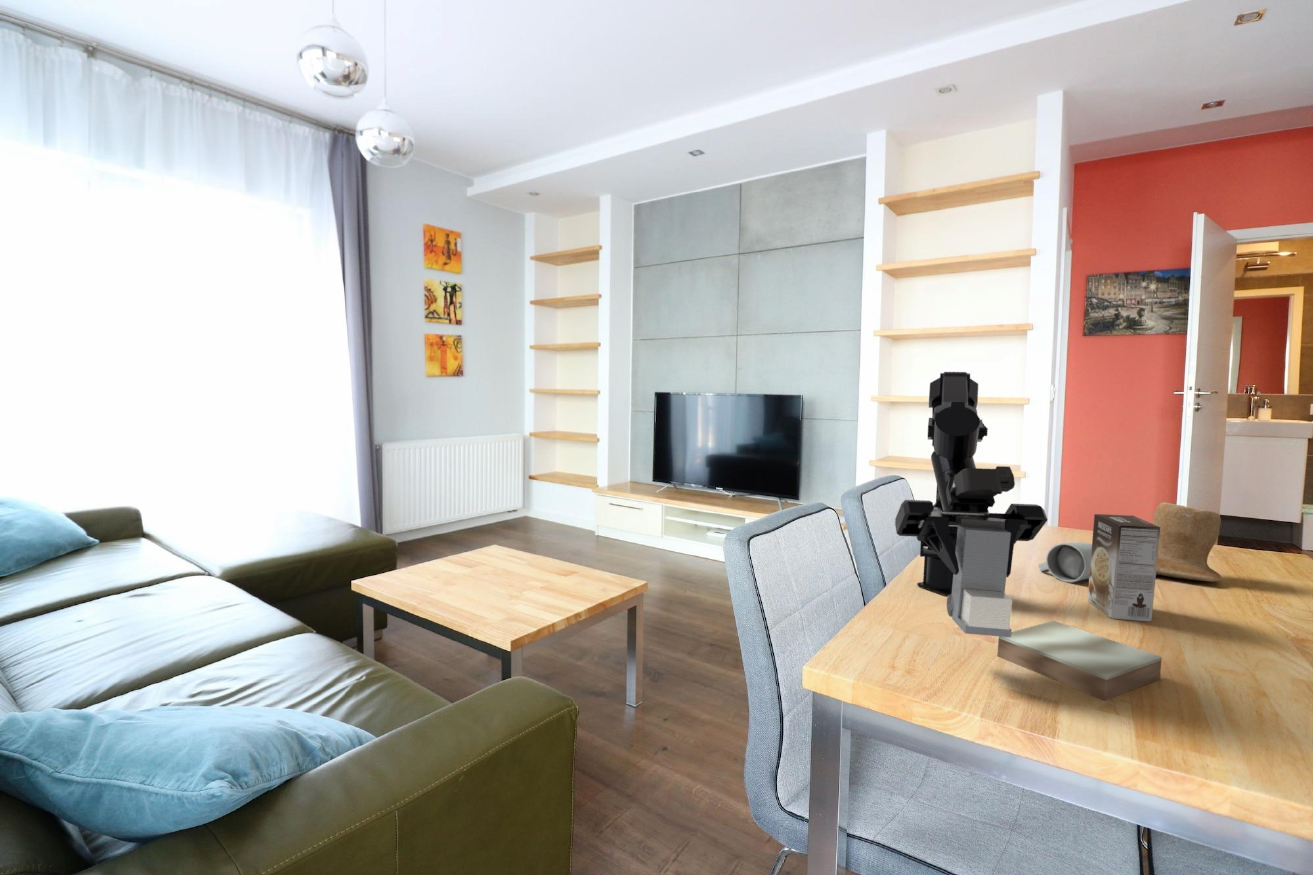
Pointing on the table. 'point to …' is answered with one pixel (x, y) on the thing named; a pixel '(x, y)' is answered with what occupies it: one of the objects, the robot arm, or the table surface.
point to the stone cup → (1186, 541)
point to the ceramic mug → (1069, 561)
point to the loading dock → (1080, 659)
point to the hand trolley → (981, 577)
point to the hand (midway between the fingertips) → (982, 574)
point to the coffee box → (1123, 566)
